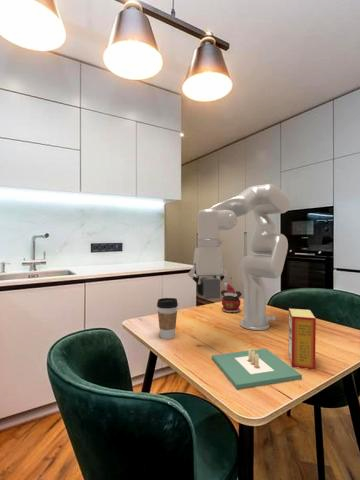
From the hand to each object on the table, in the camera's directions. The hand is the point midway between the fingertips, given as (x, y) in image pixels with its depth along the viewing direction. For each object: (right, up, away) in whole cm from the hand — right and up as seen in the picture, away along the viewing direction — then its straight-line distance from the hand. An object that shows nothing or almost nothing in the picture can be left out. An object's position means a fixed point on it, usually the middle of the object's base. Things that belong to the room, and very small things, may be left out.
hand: (208, 293), depth 97 cm
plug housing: (0, -1, 0) cm, 1 cm away
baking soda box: (+29, -20, -11) cm, 36 cm away
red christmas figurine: (+17, -19, +46) cm, 53 cm away
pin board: (+12, -20, -15) cm, 28 cm away
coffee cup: (-15, -19, +11) cm, 27 cm away
